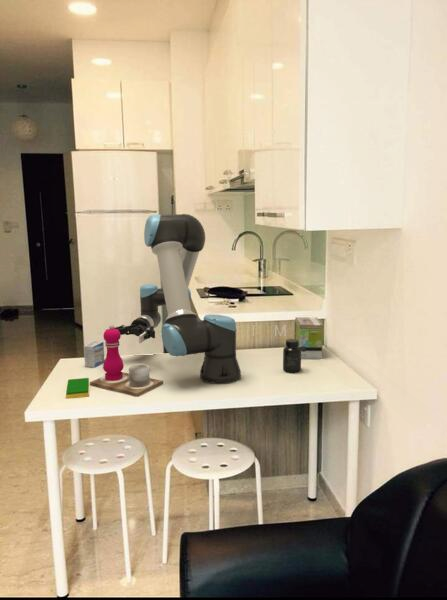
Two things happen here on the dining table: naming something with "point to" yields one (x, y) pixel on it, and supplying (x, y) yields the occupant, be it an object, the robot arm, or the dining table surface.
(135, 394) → the board
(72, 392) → the dish sponge
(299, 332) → the tea box
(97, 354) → the medicine box
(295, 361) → the supplement bottle
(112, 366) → the pepper mill
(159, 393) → the dining table surface
